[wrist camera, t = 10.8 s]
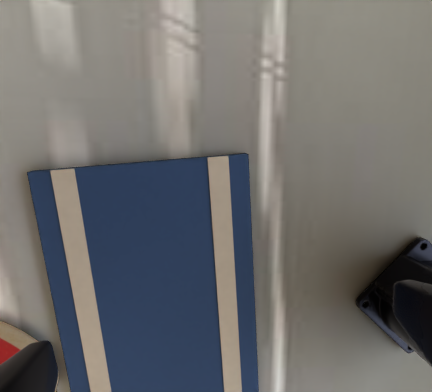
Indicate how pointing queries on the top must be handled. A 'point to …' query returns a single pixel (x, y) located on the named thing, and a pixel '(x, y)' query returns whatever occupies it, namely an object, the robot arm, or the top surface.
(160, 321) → the towel
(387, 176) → the top surface
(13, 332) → the ladybug figurine
